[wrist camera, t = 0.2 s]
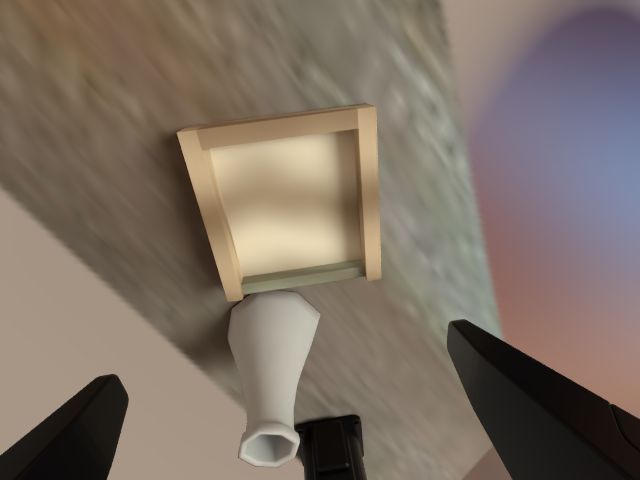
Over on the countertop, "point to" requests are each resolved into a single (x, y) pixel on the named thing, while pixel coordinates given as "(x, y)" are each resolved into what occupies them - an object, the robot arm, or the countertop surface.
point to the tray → (288, 197)
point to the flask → (271, 370)
